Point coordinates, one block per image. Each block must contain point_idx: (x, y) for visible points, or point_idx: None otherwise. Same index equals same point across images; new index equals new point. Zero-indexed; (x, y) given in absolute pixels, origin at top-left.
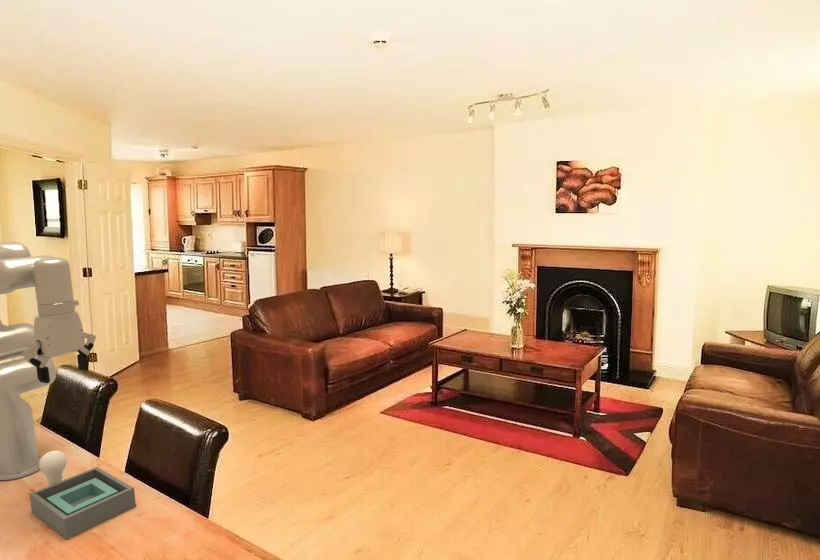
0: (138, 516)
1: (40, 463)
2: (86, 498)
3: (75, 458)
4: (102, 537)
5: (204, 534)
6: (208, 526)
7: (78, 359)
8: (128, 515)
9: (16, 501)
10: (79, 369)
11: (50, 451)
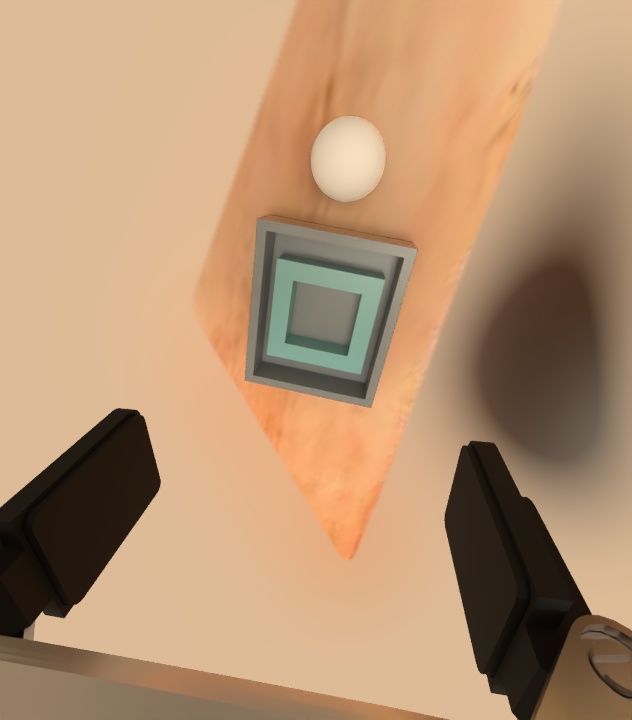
0: (349, 411)
1: (311, 155)
2: (345, 291)
3: None
4: (286, 404)
5: (353, 512)
6: (370, 507)
7: (495, 550)
8: None
9: (278, 117)
10: (460, 454)
11: (347, 146)
